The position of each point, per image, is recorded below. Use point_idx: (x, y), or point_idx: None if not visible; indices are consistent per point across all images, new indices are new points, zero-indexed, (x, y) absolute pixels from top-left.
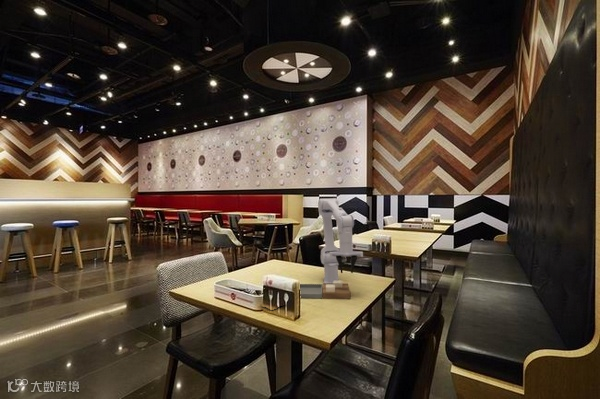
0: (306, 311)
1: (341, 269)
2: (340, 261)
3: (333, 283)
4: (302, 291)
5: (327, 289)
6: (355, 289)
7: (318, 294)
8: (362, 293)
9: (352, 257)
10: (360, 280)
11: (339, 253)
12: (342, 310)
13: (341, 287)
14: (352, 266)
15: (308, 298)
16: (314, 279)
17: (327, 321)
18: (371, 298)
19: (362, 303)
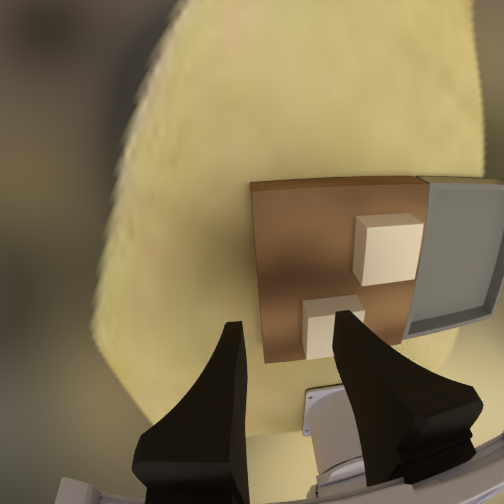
0: (464, 21)
1: (359, 330)
2: (414, 389)
3: None
4: (484, 260)
5: (407, 218)
6: None
7: (444, 182)
8: (179, 285)
9: (215, 483)
10: None
11: (473, 491)
12: (297, 9)
13: (308, 300)
14: (223, 368)
15: (471, 177)
16: None
17: None
18: (124, 214)
19: (173, 123)
